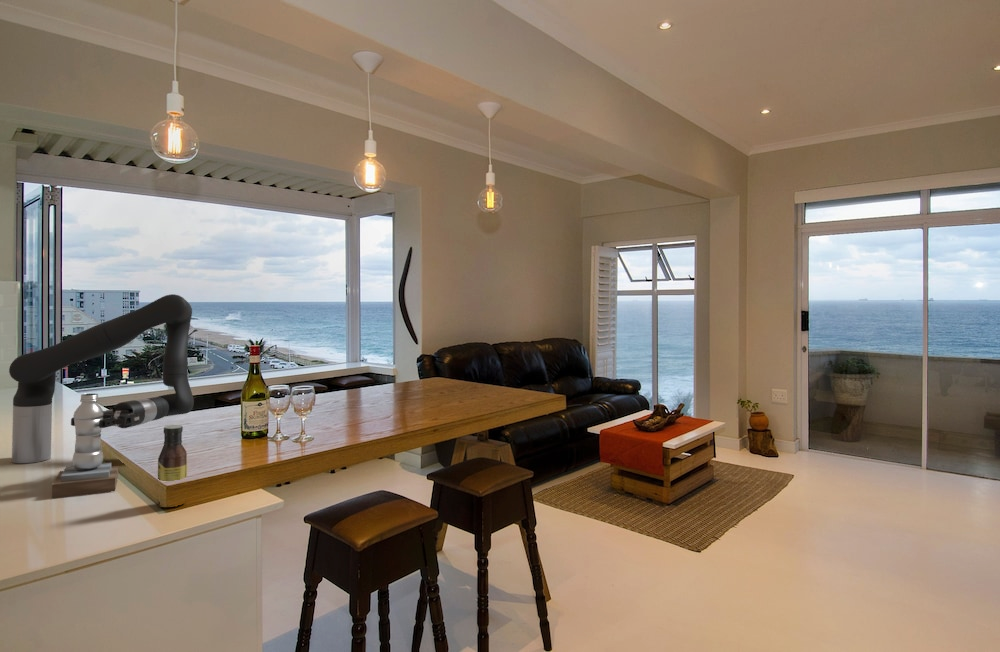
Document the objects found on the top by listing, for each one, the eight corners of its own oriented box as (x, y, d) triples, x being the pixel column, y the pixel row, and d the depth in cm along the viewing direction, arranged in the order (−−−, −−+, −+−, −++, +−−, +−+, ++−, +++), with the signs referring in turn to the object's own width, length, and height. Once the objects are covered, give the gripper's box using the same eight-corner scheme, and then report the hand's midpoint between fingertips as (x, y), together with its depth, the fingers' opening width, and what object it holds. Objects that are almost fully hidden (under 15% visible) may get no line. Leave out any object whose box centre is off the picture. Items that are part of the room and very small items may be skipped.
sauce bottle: (165, 500, 139) (167, 422, 139) (191, 500, 140) (193, 423, 140) (151, 509, 133) (153, 428, 133) (178, 510, 133) (180, 428, 133)
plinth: (59, 484, 149) (60, 465, 149) (117, 478, 156) (118, 460, 155) (51, 498, 138) (52, 478, 138) (114, 491, 145) (115, 472, 144)
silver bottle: (108, 467, 149) (110, 393, 149) (82, 473, 143) (84, 397, 142) (92, 464, 151) (94, 391, 151) (65, 470, 145) (67, 394, 144)
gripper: (113, 398, 163) (63, 407, 147) (157, 401, 161) (110, 410, 145) (113, 423, 163) (62, 435, 147) (156, 427, 161) (109, 439, 145)
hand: (86, 423), depth 146 cm, fingers open, 8 cm apart
